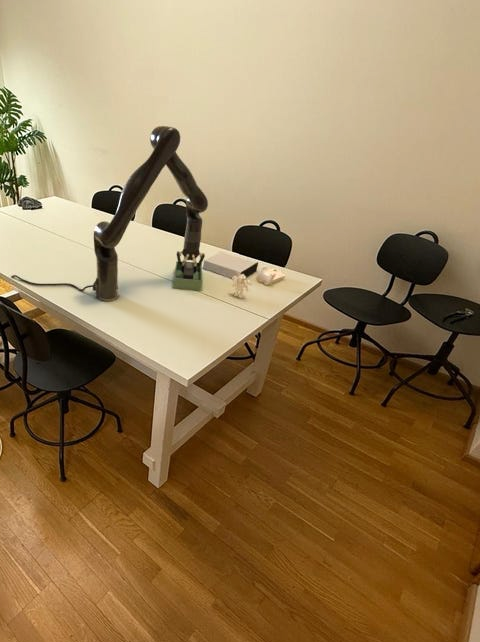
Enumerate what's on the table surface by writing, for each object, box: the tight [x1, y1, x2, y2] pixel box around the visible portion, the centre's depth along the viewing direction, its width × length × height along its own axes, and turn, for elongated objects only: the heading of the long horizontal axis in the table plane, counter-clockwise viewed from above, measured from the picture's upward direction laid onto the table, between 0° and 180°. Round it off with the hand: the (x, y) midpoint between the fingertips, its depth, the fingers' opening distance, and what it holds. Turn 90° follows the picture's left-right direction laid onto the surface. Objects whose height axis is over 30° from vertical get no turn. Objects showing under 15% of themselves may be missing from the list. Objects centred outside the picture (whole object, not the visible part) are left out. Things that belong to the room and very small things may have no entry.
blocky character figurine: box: [231, 272, 252, 299], centre depth 169 cm, size 9×4×12 cm, turn 52°
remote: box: [183, 261, 194, 280], centre depth 183 cm, size 5×16×3 cm, turn 171°
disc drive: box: [202, 251, 259, 279], centre depth 195 cm, size 18×22×5 cm
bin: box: [172, 260, 203, 292], centre depth 184 cm, size 13×21×5 cm, turn 171°
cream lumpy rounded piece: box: [255, 265, 286, 286], centre depth 185 cm, size 13×7×8 cm, turn 124°
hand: (188, 272), depth 183 cm, fingers closed on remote, 4 cm apart
